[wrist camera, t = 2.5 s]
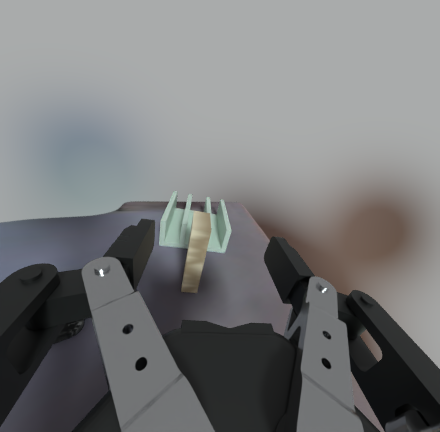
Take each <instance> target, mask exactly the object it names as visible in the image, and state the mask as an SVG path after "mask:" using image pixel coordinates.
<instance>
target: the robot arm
mask: <svg viewBox="0 0 440 432" xmlns="http://www.w3.org/2000/svg"><path fill="white" fill-rule="evenodd" d="M154 237H155V220H149V219H141V220H140V222H139V223H138V225H137V226H133V225H131V226H129V227H128V228H126V229H124V230H123V232H122V233H121V234H120V236H119V237H118V238H117V239H116V241H115V242H114V243H113V244H112V246H111V247H110V248H109V250H108V251H107V252H106V253H105V255H104V256H103V257H101V258H97V259H95V260H92V261H91V262H89V263H88V264H86V265H85V266H84V268H83V269H79V270H72V271H64V272H58V271H57V268H56V267H55V266H54V265H51V264H35V265H31V266H27V267H24V268H22V269H20V270H18V271H16V272H14V273H12V274H11V275H10V276H8V277H7V278H6V279H5V280H3V281H2V282H1V283H0V427H1V425H2V424H3V422H4V420H5V419H6V417H7V416H8V414H9V412H10V411H11V409H12V408H13V406H14V405H15V403H16V401H17V400H18V398H19V397H20V395H21V394H22V392H23V390H24V389H25V387H26V386H27V384H28V382H29V381H30V379H31V378H32V376H33V375H34V373H35V371H36V370H37V368H38V367H39V365H40V364H41V362H42V360H43V359H44V357H45V356H46V354H47V353H48V351H49V349H50V348H51V346H52V345H53V343H54V341H55V340H56V338H57V337H58V335H59V334H60V332H61V330H62V329H63V327H64V326H65V324H66V323H69V322H73V321H77V320H81V319H85V318H90V317H91V318H92V323H93V327H94V331H95V335H96V339H97V343H98V347H99V351H100V356H101V360H102V364H103V369H104V373H105V377H106V381H107V385H108V389H109V391H108V393H107V394H106V395H105V396H104V397H103V398H102V399H101V400H100V401H99V402H98V403H97V404H96V406H95V407H94V408H93V409H92V410H91V411H90V412H89V413H88V414H87V415H86V416H85V418H84V419H83V420H82V421H81V422H80V423H79V424H78V425H77V426H76V427H75V428H74V430H73V431H72V432H380V431H379V430H378V429H377V428H376V427H375V426H374V425H373V424H372V423H371V422H370V421H369V420H368V419H367V418H366V417H365V416H364V415H363V413H362V412H361V411H360V410H359V409H358V408H357V407H356V406H355V405H354V401H353V390H352V379H351V372H352V374H353V376H354V377H355V379H356V381H357V383H358V385H359V386H360V388H361V390H362V392H363V393H364V395H365V397H366V399H367V401H368V402H369V404H370V406H371V408H372V410H373V411H374V413H375V415H376V417H377V418H378V420H379V422H380V424H381V426H382V427H383V429H384V431H385V432H440V369H439V368H438V367H437V366H436V365H435V364H434V362H433V361H431V359H430V358H429V357H428V356H427V355H426V354H425V353H424V352H423V351H422V350H421V349H420V348H419V347H418V346H417V344H416V343H414V341H413V340H412V339H411V338H410V337H409V336H408V335H407V334H406V333H405V331H404V330H403V329H402V328H401V327H400V326H399V325H398V324H397V323H396V322H395V321H394V320H393V319H392V318H391V317H390V316H389V314H388V313H387V312H386V311H385V310H384V309H383V308H382V307H381V306H380V305H379V304H378V303H377V302H376V301H375V300H374V299H373V298H372V297H370V296H369V295H367V294H365V293H363V292H361V291H358V290H353V291H352V292H351V293H350V294H349V295H348V296H347V295H344V294H341V293H338V292H336V290H335V288H334V287H333V286H332V285H331V284H330V283H329V282H327V281H326V280H324V279H322V278H319V277H315V275H314V274H313V273H312V271H311V270H310V269H309V267H308V266H307V265H306V263H305V262H304V261H303V259H302V258H301V257H300V255H299V254H298V252H297V251H296V250H295V249H294V248H292V247H291V246H290V245H289V244H288V243H287V241H286V240H285V239H284V238H280V237H272V238H271V240H270V242H269V245H268V247H267V249H266V252H265V255H264V261H265V264H266V266H267V268H268V270H269V273H270V275H271V277H272V279H273V282H274V284H275V286H276V288H277V291H278V293H279V295H280V297H281V300H282V302H283V303H284V304H292V308H291V310H290V313H289V317H288V321H287V325H286V329H285V332H284V336H282V335H280V334H278V333H275V332H274V331H273V328H272V325H271V324H266V323H249V324H245V325H241V326H237V327H234V328H226V327H223V326H220V325H217V324H213V323H210V322H207V321H191V320H182V325H181V328H179V329H175V330H173V331H170V332H168V333H167V334H165V335H163V336H161V334H160V332H159V330H158V328H157V326H156V324H155V322H154V320H153V318H152V316H151V314H150V312H149V310H148V308H147V306H146V304H145V302H144V300H143V298H142V296H141V294H140V293H139V291H135V290H136V288H137V285H138V283H139V280H140V278H141V276H142V273H143V271H144V269H145V266H146V264H147V261H148V259H149V257H150V254H151V252H152V250H153V246H154ZM366 329H367V331H368V332H369V333H370V334H371V336H372V337H373V339H374V340H375V341H376V343H377V344H378V345H379V347H380V349H381V351H382V359H381V360H380V361H379V362H378V361H377V360H376V358H375V357H374V356H373V354H372V353H371V351H370V350H369V349H368V347H367V346H366V344H365V343H364V342H363V340H362V338H361V337H360V335H361V334H362V333H363V332H364V331H365V330H366Z"/></svg>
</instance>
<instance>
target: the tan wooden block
mask: <svg viewBox="0 0 440 432" xmlns="http://www.w3.org/2000/svg"><path fill="white" fill-rule="evenodd" d="M210 235H211V218H210V213H205V212H199V211H194V214H193V220H192V226H191V232H190V238H189V244H188V250H187V256H186V261H185V267H184V274H183V282H182V289H181V292H191V293H197V290H198V286H199V282H200V277H201V273H202V269H203V265H204V260H205V256H206V252H207V248H208V243H209V239H210Z"/></svg>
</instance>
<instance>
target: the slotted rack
mask: <svg viewBox="0 0 440 432" xmlns="http://www.w3.org/2000/svg"><path fill="white" fill-rule="evenodd" d="M177 194H178V192H175V191H174V192H173V195H172V197H171V199H170V201H169V203H168V206H167V208H166V210H165V212H164V214H163V217H162V219H161V224H160V239H159V245H160V246H169V247H177V248H185V249H188V244H189V238H190V232H191V226H192V220H193V214H194V211H191V210H190V206H191V200H192V194H189V195H188V199H187V204H186V208H185V209H179V208H176V203H177ZM204 212H205V213H210V218H211V235H210V239H209V243H208V248H207V251H211V252H219V253H225V251H226V247H227V244H228V241H229V237H230V234H231V227H230V223H229V219H228V215H227V211H226V207H225V203H224V200H220V203H219V207H218V211H217V215H216V214H211V204H210V198H209V197H206V202H205V207H204Z"/></svg>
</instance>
